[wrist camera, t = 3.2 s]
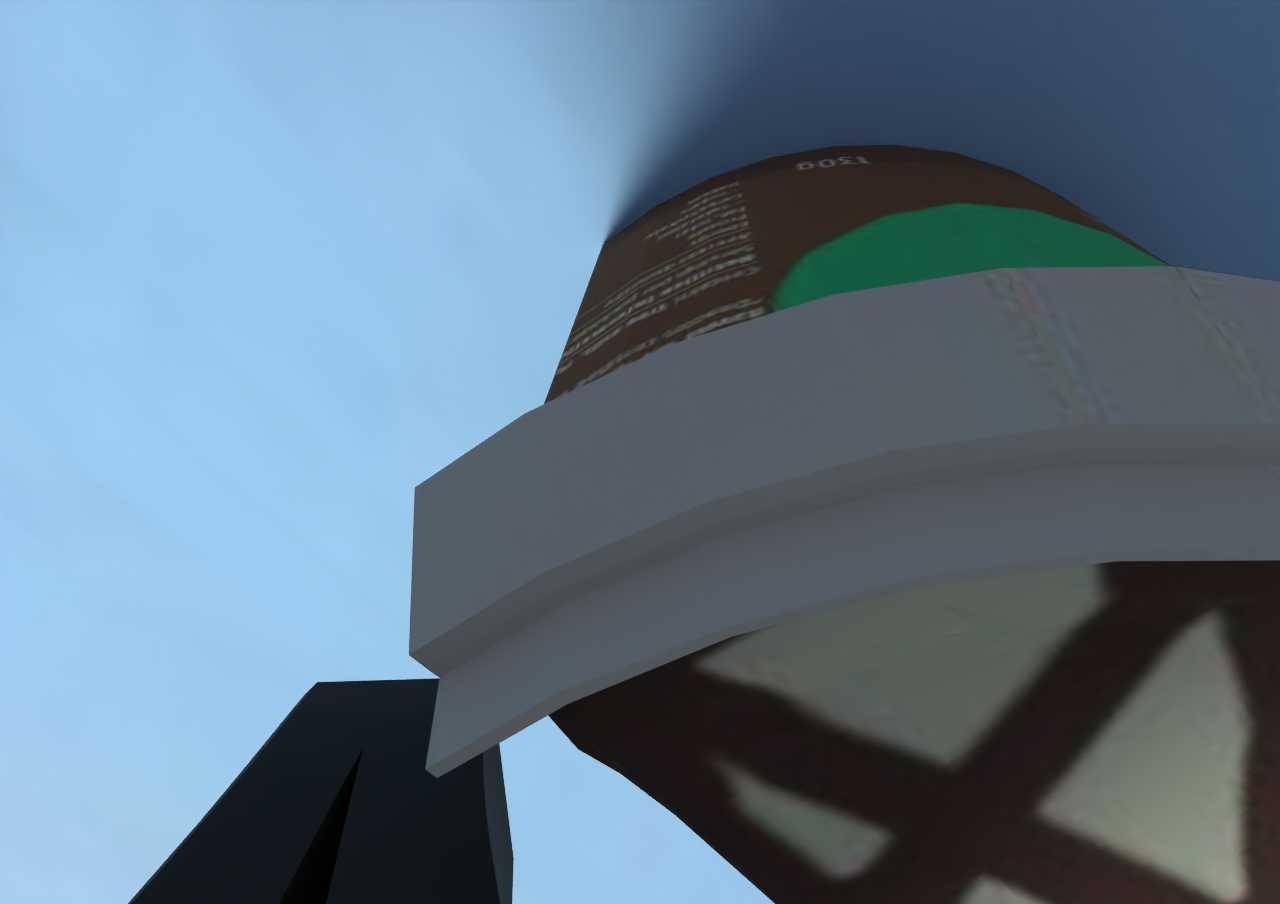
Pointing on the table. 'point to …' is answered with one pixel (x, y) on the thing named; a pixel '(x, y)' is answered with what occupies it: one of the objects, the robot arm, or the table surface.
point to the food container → (891, 543)
